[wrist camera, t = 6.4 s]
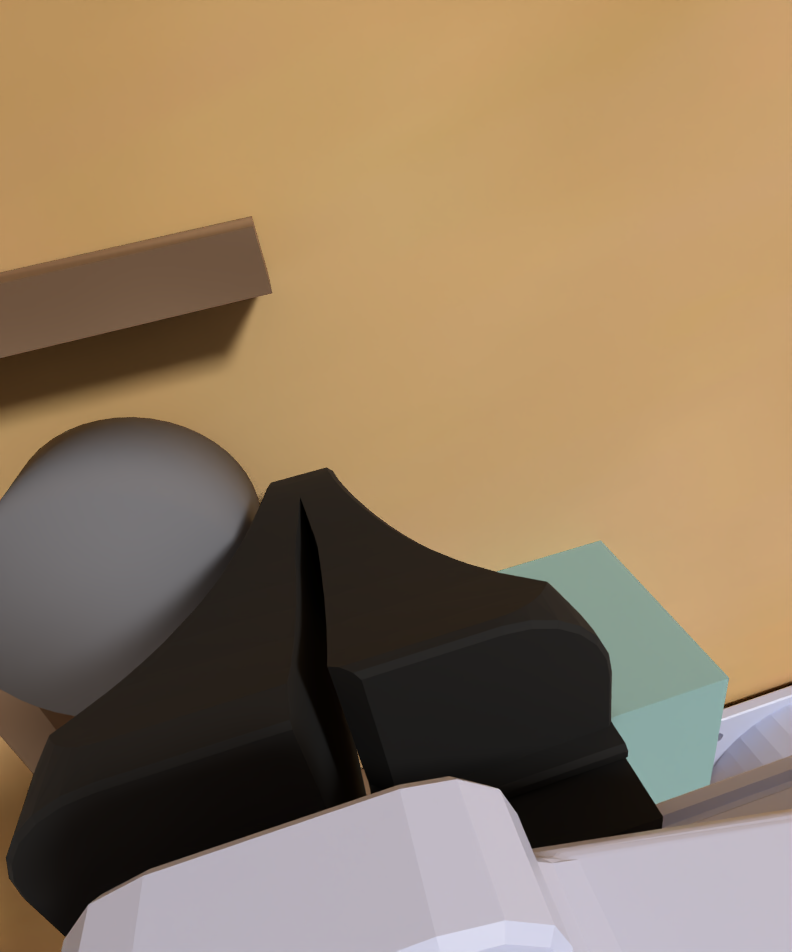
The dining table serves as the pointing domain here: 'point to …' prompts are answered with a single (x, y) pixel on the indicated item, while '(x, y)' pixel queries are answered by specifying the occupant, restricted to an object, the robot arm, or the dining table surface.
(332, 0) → the dining table surface
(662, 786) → the block
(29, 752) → the brown angular piece
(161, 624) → the puck
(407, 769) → the robot arm
